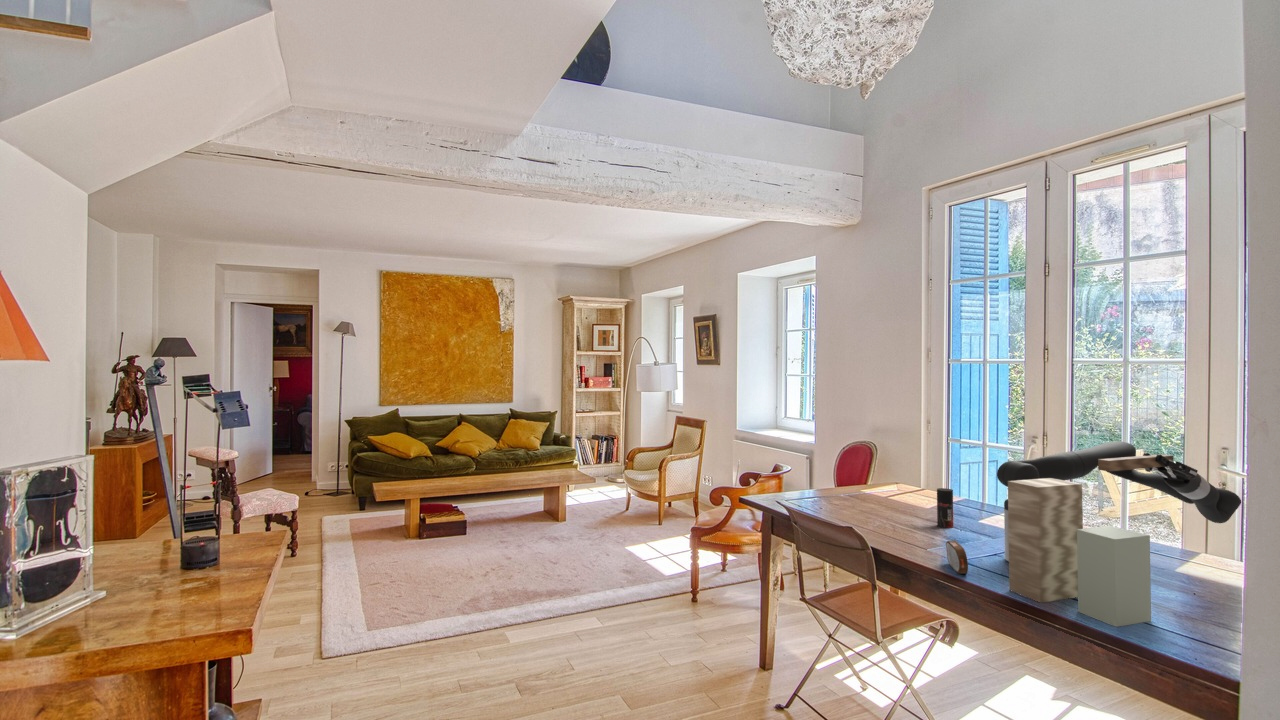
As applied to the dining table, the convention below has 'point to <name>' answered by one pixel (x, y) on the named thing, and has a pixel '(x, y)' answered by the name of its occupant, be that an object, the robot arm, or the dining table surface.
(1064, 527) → the stand
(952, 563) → the tin
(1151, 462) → the walnut bar
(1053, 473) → the robot arm
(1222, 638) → the dining table surface
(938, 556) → the dining table surface
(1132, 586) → the green plinth
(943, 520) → the deodorant
